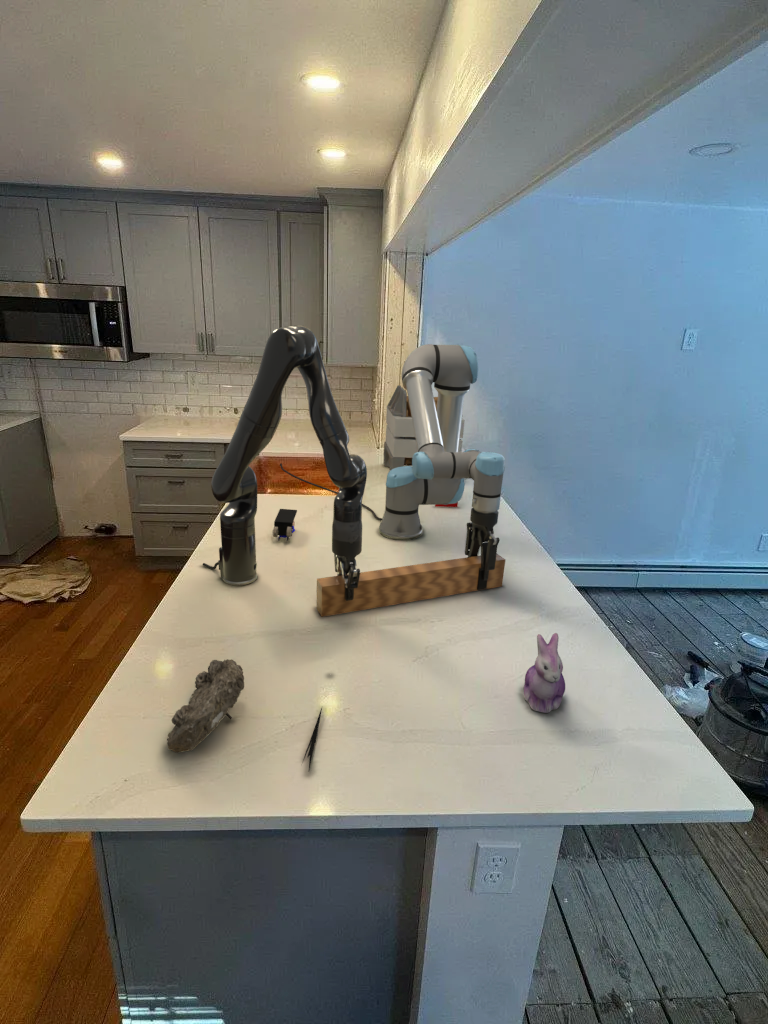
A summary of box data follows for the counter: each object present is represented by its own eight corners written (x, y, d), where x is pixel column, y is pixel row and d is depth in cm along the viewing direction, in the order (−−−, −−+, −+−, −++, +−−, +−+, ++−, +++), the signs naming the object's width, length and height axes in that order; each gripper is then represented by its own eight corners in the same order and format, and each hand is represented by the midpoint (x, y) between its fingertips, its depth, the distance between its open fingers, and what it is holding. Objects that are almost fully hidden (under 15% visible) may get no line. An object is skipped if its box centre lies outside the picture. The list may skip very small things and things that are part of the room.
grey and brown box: (382, 463, 289) (386, 382, 275) (445, 464, 293) (451, 384, 279) (390, 482, 257) (394, 392, 243) (460, 483, 261) (468, 394, 247)
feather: (331, 679, 122) (336, 673, 122) (307, 777, 96) (313, 769, 95) (324, 675, 122) (329, 669, 121) (298, 772, 95) (304, 764, 95)
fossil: (192, 660, 117) (244, 628, 112) (224, 691, 120) (276, 661, 115) (142, 746, 98) (202, 712, 93) (182, 779, 101) (242, 748, 96)
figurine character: (292, 547, 188) (298, 526, 201) (292, 527, 184) (297, 507, 198) (272, 547, 187) (279, 526, 201) (271, 526, 184) (278, 506, 197)
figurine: (543, 721, 111) (554, 655, 106) (509, 690, 119) (518, 628, 114) (578, 708, 115) (591, 644, 110) (543, 679, 123) (553, 619, 118)
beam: (493, 579, 169) (496, 553, 166) (502, 586, 165) (505, 559, 162) (316, 608, 148) (316, 578, 146) (321, 616, 144) (321, 586, 141)
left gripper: (324, 526, 147) (323, 584, 153) (342, 547, 134) (340, 610, 140) (351, 523, 150) (350, 581, 155) (371, 543, 137) (369, 605, 143)
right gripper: (457, 499, 162) (450, 573, 170) (491, 521, 147) (481, 601, 155) (479, 497, 165) (471, 569, 173) (515, 518, 150) (504, 596, 158)
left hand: (345, 594), depth 148 cm, fingers closed on beam, 4 cm apart
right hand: (476, 584), depth 164 cm, fingers closed on beam, 5 cm apart
